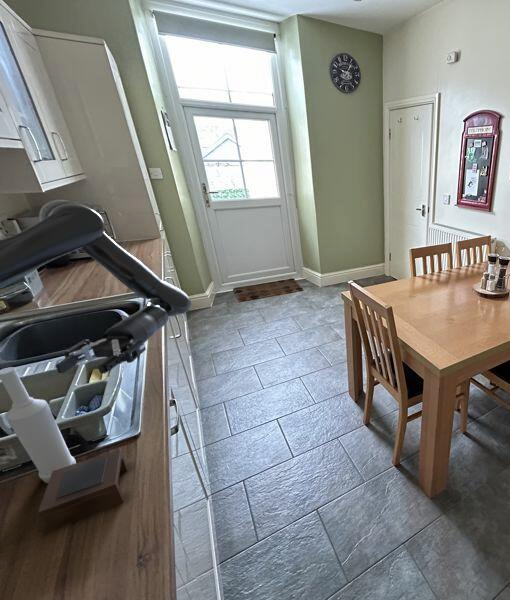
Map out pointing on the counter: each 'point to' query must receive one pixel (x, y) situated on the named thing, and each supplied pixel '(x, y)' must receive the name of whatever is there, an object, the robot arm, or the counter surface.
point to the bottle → (35, 427)
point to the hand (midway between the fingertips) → (80, 370)
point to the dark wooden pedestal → (83, 489)
